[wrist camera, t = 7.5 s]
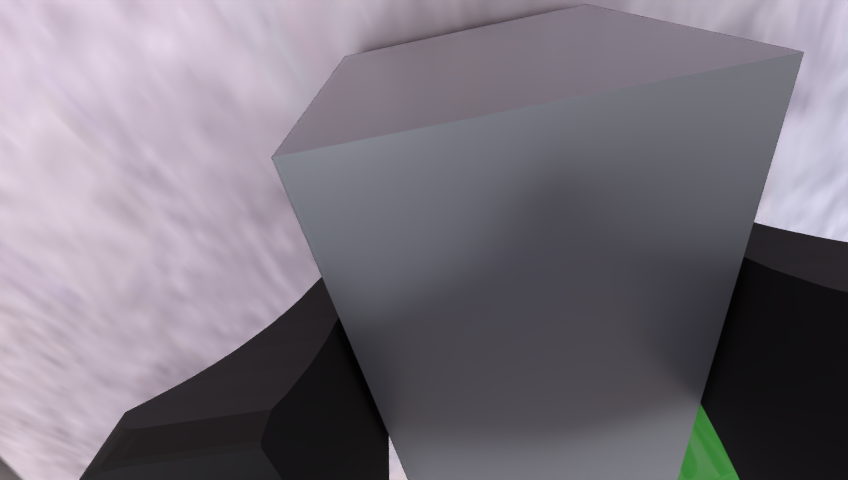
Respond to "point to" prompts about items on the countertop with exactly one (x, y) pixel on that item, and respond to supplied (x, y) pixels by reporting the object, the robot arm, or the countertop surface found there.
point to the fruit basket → (705, 454)
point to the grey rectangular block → (539, 233)
